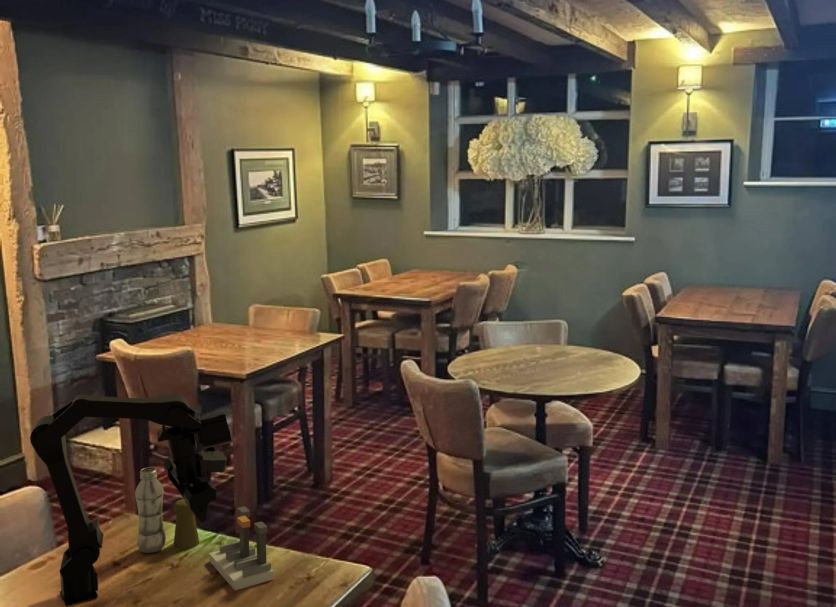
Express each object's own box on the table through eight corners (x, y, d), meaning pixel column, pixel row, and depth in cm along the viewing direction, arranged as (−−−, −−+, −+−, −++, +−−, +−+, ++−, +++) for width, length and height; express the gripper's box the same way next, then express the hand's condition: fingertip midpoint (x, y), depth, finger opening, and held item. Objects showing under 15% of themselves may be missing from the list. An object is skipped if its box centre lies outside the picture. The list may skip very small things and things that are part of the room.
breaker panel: (234, 590, 173) (234, 575, 172) (209, 561, 186) (209, 547, 186) (273, 579, 178) (273, 564, 177) (246, 551, 191) (245, 537, 190)
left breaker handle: (243, 552, 186) (242, 512, 184) (238, 547, 188) (237, 507, 187) (251, 550, 187) (250, 510, 185) (245, 545, 189) (244, 506, 188)
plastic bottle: (131, 554, 189) (127, 473, 186) (149, 542, 196) (145, 463, 193) (155, 558, 187) (151, 476, 184) (172, 545, 194) (168, 466, 191)
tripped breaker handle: (243, 563, 180) (242, 522, 179) (238, 557, 183) (237, 517, 182) (251, 561, 181) (250, 520, 180) (245, 555, 184) (244, 515, 182)
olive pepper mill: (203, 538, 198) (201, 496, 196) (193, 549, 192) (192, 506, 190) (179, 537, 198) (177, 495, 197) (169, 548, 192) (167, 505, 191)
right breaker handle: (260, 569, 177) (259, 528, 176) (255, 564, 180) (254, 523, 178) (268, 567, 178) (267, 526, 177) (262, 562, 181) (261, 521, 179)
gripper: (235, 456, 170) (246, 517, 176) (204, 422, 185) (215, 478, 191) (184, 476, 165) (197, 538, 171) (156, 438, 179) (169, 496, 185)
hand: (196, 511), depth 179 cm, fingers open, 9 cm apart
